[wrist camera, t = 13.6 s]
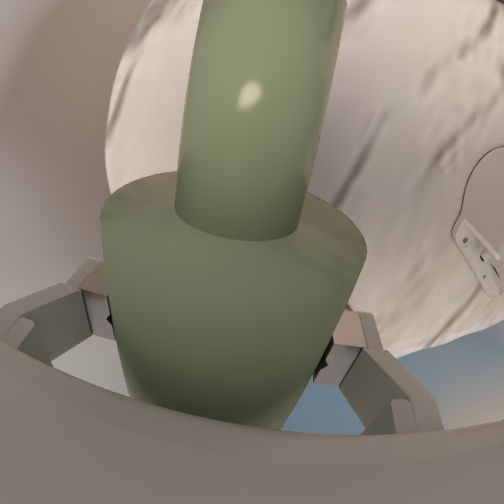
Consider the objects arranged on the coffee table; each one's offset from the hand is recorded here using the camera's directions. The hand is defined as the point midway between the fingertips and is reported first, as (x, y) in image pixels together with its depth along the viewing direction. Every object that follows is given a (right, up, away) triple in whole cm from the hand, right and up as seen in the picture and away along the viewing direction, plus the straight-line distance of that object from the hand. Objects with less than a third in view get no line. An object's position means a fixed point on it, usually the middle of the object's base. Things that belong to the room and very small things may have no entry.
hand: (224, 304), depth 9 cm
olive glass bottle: (-1, -8, +4) cm, 9 cm away
